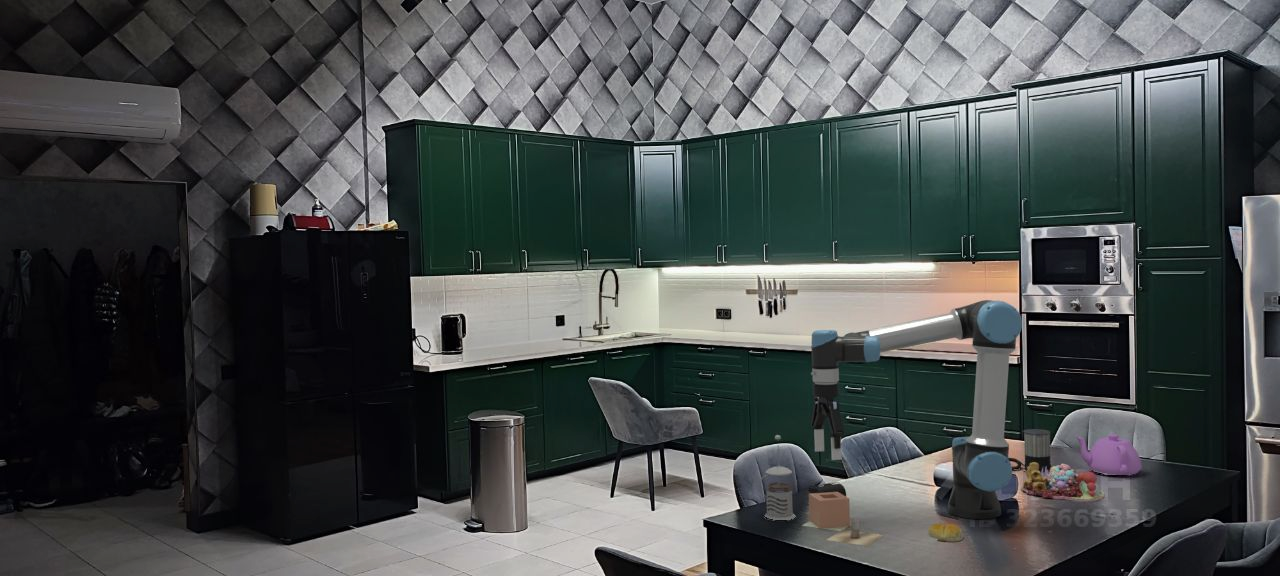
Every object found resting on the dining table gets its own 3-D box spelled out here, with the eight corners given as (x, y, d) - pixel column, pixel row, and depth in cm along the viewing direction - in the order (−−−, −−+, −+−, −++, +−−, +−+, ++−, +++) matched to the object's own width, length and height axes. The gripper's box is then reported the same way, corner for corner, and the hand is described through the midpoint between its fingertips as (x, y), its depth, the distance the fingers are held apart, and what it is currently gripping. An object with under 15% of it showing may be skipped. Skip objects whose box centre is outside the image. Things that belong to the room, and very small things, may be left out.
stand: (884, 537, 254) (883, 517, 254) (867, 548, 244) (867, 527, 244) (843, 531, 261) (842, 511, 261) (826, 542, 251) (825, 521, 251)
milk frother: (1056, 474, 326) (1055, 432, 326) (1011, 475, 326) (1010, 434, 326) (1039, 466, 340) (1038, 426, 340) (997, 467, 341) (996, 427, 340)
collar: (838, 518, 273) (837, 491, 273) (850, 526, 264) (849, 498, 264) (809, 520, 272) (808, 493, 272) (820, 528, 263) (819, 500, 263)
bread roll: (932, 532, 258) (932, 518, 258) (965, 536, 253) (965, 522, 253) (924, 540, 251) (924, 525, 251) (958, 544, 246) (957, 529, 246)
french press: (788, 522, 273) (786, 438, 273) (753, 517, 279) (750, 436, 279) (801, 514, 281) (799, 433, 281) (766, 510, 287) (764, 431, 287)
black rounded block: (821, 510, 285) (821, 489, 285) (807, 506, 292) (807, 484, 292) (846, 506, 290) (846, 485, 290) (832, 501, 296) (832, 481, 296)
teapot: (1065, 467, 338) (1064, 429, 338) (1127, 467, 335) (1126, 429, 335) (1085, 480, 316) (1084, 440, 316) (1152, 480, 313) (1151, 440, 313)
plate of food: (1023, 499, 293) (1022, 470, 293) (1018, 483, 315) (1017, 456, 315) (1110, 503, 285) (1109, 473, 285) (1098, 486, 307) (1097, 459, 307)
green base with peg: (856, 523, 269) (856, 500, 269) (840, 533, 260) (839, 509, 259) (819, 518, 276) (818, 495, 276) (801, 527, 267) (801, 504, 266)
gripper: (799, 379, 279) (801, 448, 279) (829, 388, 255) (831, 464, 255) (822, 378, 281) (824, 447, 281) (854, 386, 256) (856, 462, 256)
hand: (827, 455), depth 268 cm, fingers open, 13 cm apart
